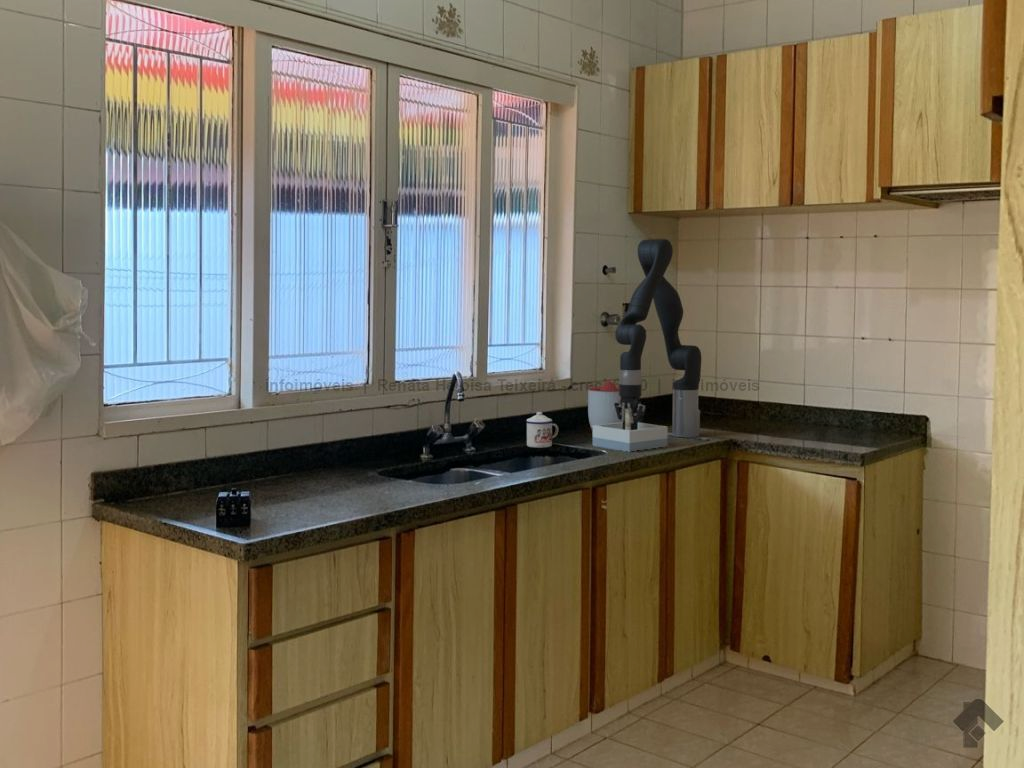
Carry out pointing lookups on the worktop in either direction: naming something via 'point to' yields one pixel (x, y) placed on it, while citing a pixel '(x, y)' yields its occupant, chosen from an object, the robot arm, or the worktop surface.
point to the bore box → (629, 436)
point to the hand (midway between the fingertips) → (629, 432)
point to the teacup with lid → (540, 431)
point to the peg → (628, 420)
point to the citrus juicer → (603, 404)
